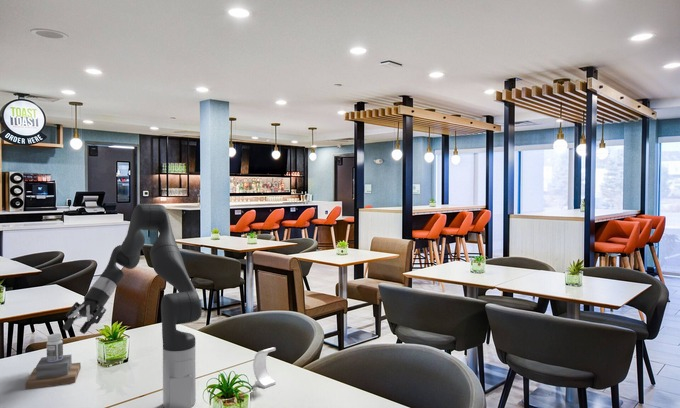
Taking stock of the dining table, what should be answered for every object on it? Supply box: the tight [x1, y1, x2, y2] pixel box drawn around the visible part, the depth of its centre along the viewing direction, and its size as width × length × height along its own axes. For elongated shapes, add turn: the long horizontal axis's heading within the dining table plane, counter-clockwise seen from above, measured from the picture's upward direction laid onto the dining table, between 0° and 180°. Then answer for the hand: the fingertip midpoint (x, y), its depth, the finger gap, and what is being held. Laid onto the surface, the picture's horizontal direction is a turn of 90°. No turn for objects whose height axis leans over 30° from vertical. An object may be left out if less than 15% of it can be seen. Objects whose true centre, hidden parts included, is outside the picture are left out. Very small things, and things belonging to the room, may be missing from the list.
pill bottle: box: [45, 333, 64, 362], centre depth 163 cm, size 5×5×8 cm
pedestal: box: [24, 354, 81, 390], centre depth 163 cm, size 14×14×6 cm
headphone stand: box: [252, 347, 277, 389], centre depth 159 cm, size 5×6×12 cm
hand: (73, 330), depth 169 cm, fingers open, 8 cm apart
